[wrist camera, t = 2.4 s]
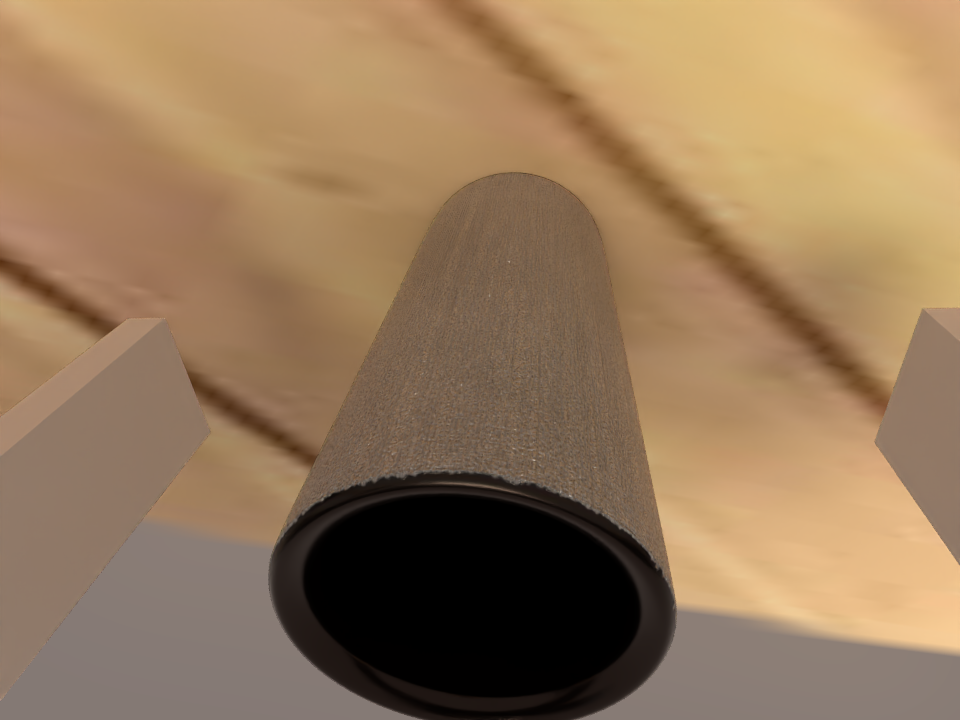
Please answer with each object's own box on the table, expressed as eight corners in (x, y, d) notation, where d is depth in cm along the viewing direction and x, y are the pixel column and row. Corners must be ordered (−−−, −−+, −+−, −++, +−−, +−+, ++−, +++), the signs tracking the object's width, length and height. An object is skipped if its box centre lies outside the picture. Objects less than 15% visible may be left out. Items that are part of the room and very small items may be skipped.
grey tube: (393, 275, 16) (204, 633, 7) (492, 130, 14) (392, 392, 5) (530, 364, 17) (509, 769, 8) (642, 243, 15) (777, 623, 6)
